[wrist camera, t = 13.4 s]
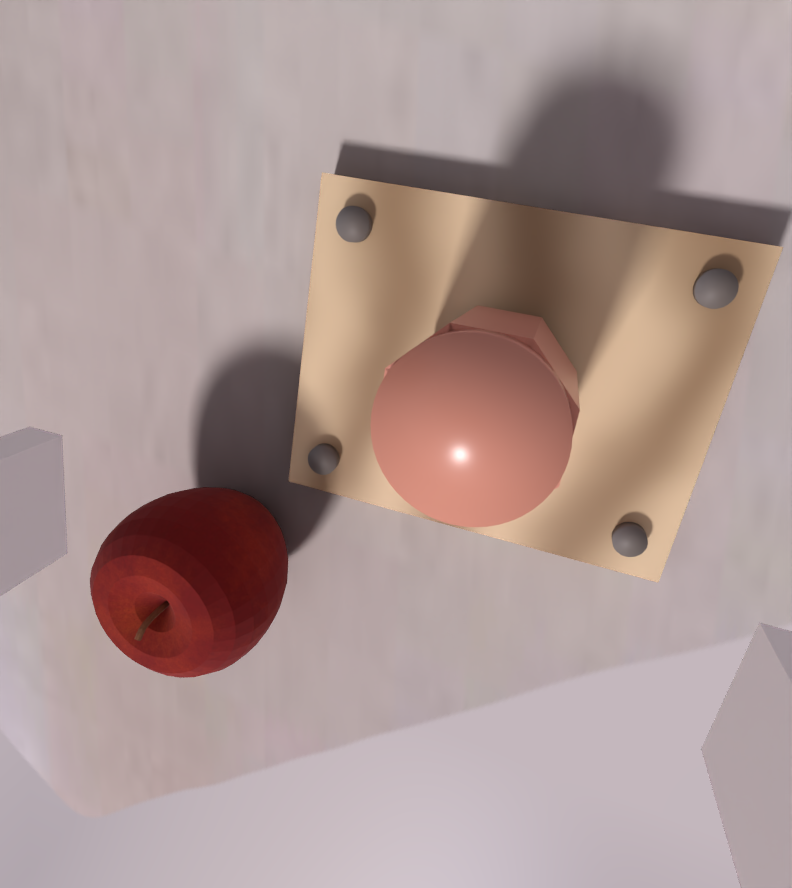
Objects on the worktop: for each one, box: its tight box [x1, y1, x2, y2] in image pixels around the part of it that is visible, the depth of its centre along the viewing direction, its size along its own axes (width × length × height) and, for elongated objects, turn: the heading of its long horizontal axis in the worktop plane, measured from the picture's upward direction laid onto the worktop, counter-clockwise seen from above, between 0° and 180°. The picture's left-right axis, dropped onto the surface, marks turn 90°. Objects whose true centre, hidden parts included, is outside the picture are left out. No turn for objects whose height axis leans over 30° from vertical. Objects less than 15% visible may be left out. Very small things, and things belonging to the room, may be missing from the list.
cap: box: [370, 305, 580, 527], centre depth 24 cm, size 7×7×8 cm
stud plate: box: [289, 173, 783, 582], centre depth 26 cm, size 20×16×8 cm
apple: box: [90, 487, 288, 677], centre depth 33 cm, size 10×10×10 cm
